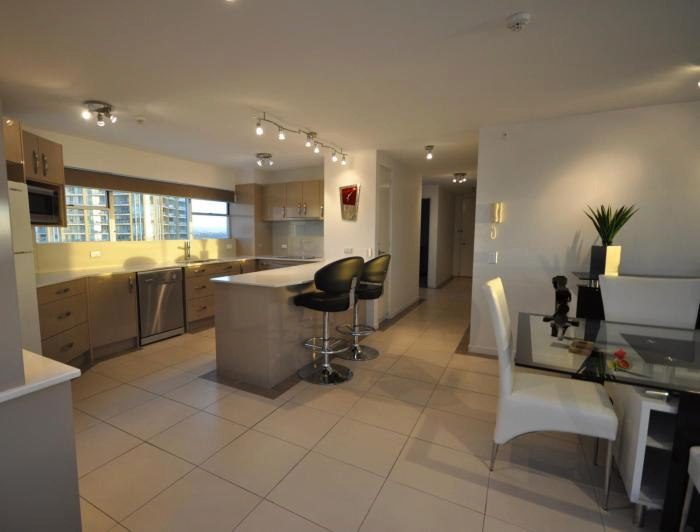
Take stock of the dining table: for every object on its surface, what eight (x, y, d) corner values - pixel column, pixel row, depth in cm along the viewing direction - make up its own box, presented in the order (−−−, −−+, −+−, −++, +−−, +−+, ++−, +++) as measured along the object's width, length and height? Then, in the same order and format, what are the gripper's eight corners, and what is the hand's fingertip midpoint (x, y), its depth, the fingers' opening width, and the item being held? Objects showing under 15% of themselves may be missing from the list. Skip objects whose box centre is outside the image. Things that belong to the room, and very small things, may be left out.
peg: (556, 340, 205) (557, 324, 204) (557, 339, 207) (558, 323, 206) (562, 341, 203) (563, 325, 202) (563, 340, 205) (564, 324, 204)
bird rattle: (627, 374, 170) (607, 362, 176) (640, 357, 165) (619, 345, 171) (624, 377, 166) (604, 365, 172) (637, 360, 161) (616, 348, 167)
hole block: (568, 352, 194) (568, 347, 194) (574, 343, 209) (574, 339, 208) (589, 356, 187) (589, 351, 187) (593, 347, 202) (594, 342, 202)
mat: (549, 346, 205) (549, 346, 205) (553, 342, 212) (553, 341, 212) (566, 349, 199) (567, 349, 199) (569, 345, 206) (570, 344, 206)
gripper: (541, 310, 203) (540, 335, 205) (578, 314, 191) (576, 341, 192) (545, 306, 211) (544, 330, 213) (581, 311, 199) (579, 336, 201)
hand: (560, 334), depth 204 cm, fingers closed on peg, 3 cm apart
